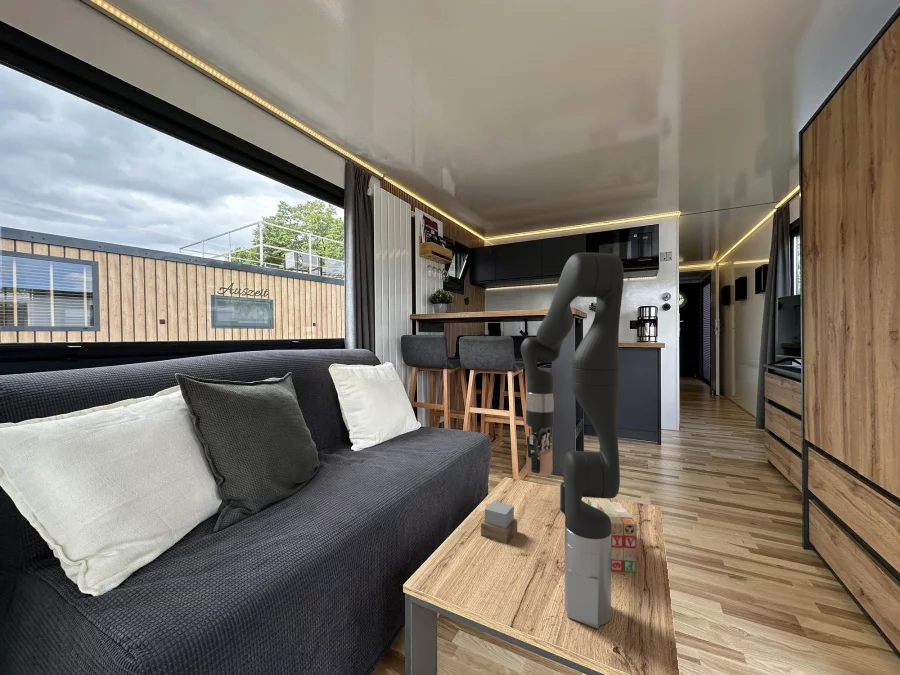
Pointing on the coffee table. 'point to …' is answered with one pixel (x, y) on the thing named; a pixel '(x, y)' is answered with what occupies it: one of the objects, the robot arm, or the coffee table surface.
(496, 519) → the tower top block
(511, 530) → the tower base block
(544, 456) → the terracotta block
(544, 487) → the coffee table surface
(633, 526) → the stack of blocks
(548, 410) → the robot arm
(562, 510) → the supplement bottle
